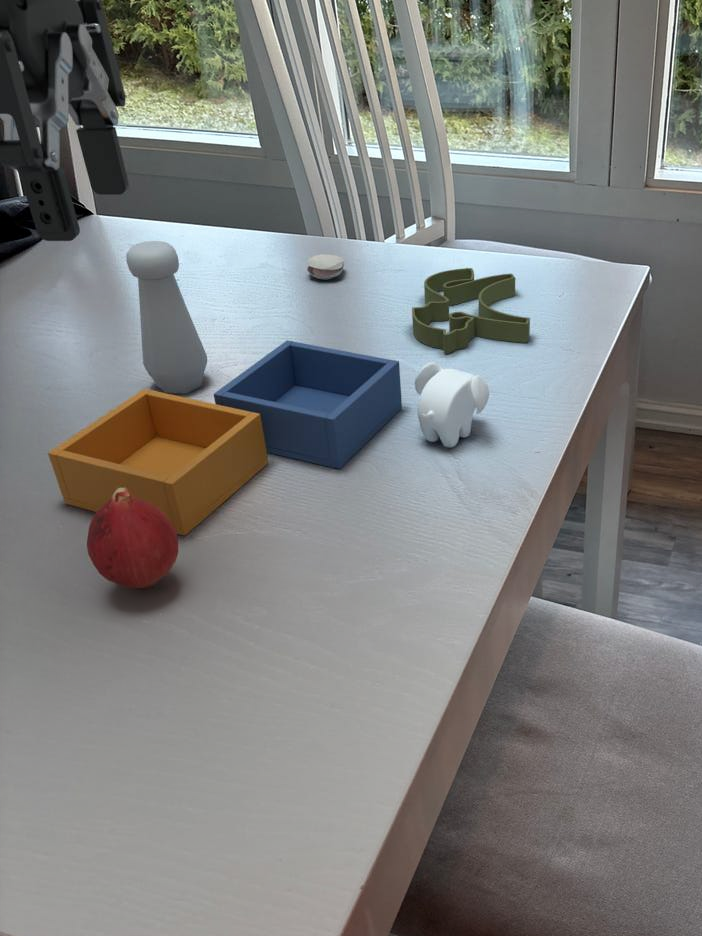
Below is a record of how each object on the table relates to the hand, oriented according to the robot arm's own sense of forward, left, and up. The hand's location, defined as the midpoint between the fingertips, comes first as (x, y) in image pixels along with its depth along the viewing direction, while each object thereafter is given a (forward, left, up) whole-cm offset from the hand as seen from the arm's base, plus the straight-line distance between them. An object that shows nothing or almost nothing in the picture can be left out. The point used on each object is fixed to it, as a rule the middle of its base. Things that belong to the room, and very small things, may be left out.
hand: (87, 214), depth 58 cm
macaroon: (-15, +51, -23) cm, 58 cm away
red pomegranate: (+3, -6, -23) cm, 24 cm away
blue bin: (+2, +19, -23) cm, 30 cm away
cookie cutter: (+5, +46, -23) cm, 52 cm away
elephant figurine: (+14, +22, -23) cm, 35 cm away
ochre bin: (-4, +6, -23) cm, 24 cm away
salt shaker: (-14, +21, -23) cm, 34 cm away
